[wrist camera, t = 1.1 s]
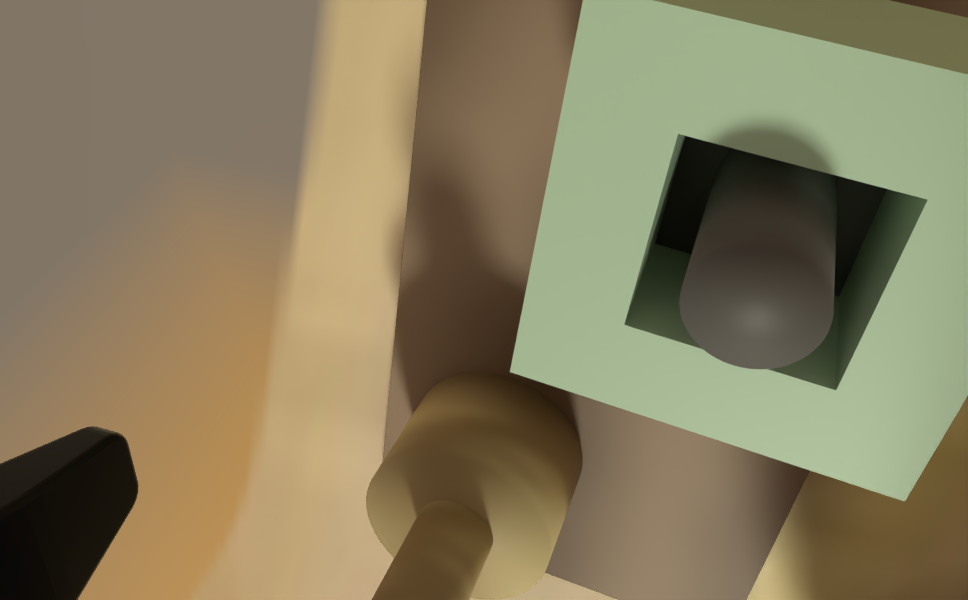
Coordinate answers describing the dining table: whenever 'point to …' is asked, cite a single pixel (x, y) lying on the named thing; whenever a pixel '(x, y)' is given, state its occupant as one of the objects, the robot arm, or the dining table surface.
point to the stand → (556, 412)
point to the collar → (785, 137)
